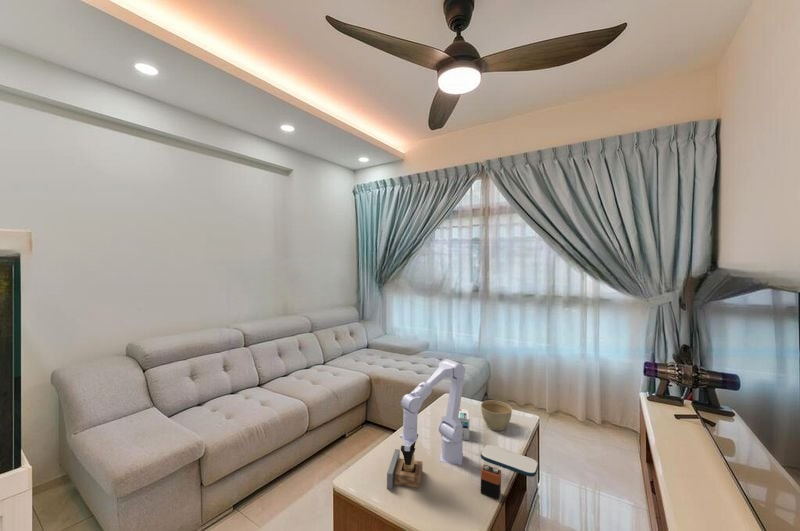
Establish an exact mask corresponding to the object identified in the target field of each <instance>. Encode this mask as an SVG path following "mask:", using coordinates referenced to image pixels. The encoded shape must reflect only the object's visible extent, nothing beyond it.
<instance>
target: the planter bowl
mask: <svg viewBox="0 0 800 531" xmlns="http://www.w3.org/2000/svg"><path fill="white" fill-rule="evenodd" d="M480 407H481V415H482V418H483V420H484V421H485V423H486V426H487V428H489V429H490V430H491V431H492V430H493V431H497V432H499V431H500V432H502V431H504V430H505V429H506V427H507V426H508V424H509V423H510V421H511V418H512V412H513V408H512V406H510V405H509V404H508V403H506V402H504V401H500V400H499V401H498V400H485V401H482V402H481V404H480Z"/></svg>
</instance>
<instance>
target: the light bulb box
mask: <svg viewBox="0 0 800 531" xmlns="http://www.w3.org/2000/svg"><path fill="white" fill-rule="evenodd" d="M458 419H459V420H460V422H461V424H462V438H461V440H465V441H470V420H471V419H470V410H469V409H465V408H460V409H459V415H458Z"/></svg>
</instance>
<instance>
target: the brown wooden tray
mask: <svg viewBox="0 0 800 531" xmlns="http://www.w3.org/2000/svg"><path fill="white" fill-rule="evenodd" d="M423 465H424V463H423V461H421V460H415V459H414V473H410V472H404V458H401V457H400V458H399V460H398V464H397V467H396V470H395V474H394V484H393V485H397V486H404V487H409V488H417V489H420V486H421V482H422V481H421V480H422V474H423Z"/></svg>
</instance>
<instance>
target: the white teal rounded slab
mask: <svg viewBox="0 0 800 531" xmlns="http://www.w3.org/2000/svg"><path fill="white" fill-rule="evenodd" d="M480 458H481V459H482V460H484V461H485V462H487V463H490V464H493V465H495V464H496V465H495V466H498V465H499V466H498V467H501V466H502V467H501V468H504V469H506V468H508V469H507V470H509V469H510V470H509V471H512V472H516V473H518V474H519V475H523V476H525V477H531V478H532V477H535V476H536V475H537V472H538V468H539V462H538V461H537V460H535V459H533V458H532V457H528V456H526V455H523V454H520V453H517V452H513V451H511V450H507V449H505V448H501V447H499V446H495V445H492V444H486V445H485V446H484V447H483V448H482V450H481V452H480Z"/></svg>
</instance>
